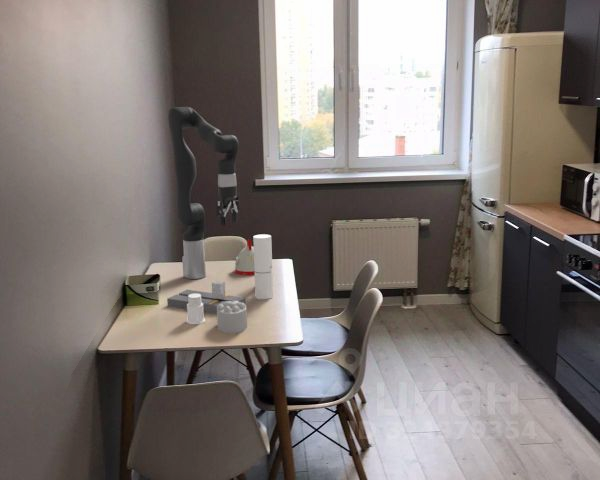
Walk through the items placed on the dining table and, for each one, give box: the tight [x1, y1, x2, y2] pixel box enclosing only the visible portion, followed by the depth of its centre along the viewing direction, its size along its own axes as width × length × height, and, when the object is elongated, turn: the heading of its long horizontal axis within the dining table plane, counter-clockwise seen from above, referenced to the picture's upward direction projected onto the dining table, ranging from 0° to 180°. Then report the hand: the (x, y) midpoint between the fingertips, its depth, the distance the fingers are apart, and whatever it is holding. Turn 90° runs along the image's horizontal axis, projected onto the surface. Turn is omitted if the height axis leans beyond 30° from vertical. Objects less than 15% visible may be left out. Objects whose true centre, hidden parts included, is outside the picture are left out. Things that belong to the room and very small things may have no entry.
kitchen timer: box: [234, 238, 255, 276], centre depth 315 cm, size 14×14×15 cm
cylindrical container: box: [252, 233, 274, 300], centre depth 274 cm, size 7×7×25 cm
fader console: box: [166, 289, 247, 314], centre depth 267 cm, size 28×13×3 cm, turn 63°
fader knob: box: [211, 280, 226, 301], centre depth 263 cm, size 4×3×9 cm
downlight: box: [185, 293, 206, 325], centre depth 248 cm, size 8×7×10 cm
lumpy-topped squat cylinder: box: [216, 301, 248, 335], centre depth 241 cm, size 10×13×9 cm
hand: (229, 223), depth 282 cm, fingers open, 8 cm apart
